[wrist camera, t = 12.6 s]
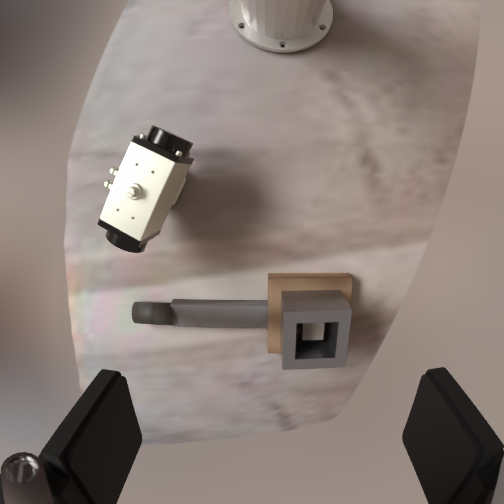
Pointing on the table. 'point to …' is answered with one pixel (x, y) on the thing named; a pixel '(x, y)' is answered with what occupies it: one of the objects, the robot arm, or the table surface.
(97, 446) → the robot arm
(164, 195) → the pneumatic valve
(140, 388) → the table surface
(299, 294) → the hollow grey cube
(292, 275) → the mallet
